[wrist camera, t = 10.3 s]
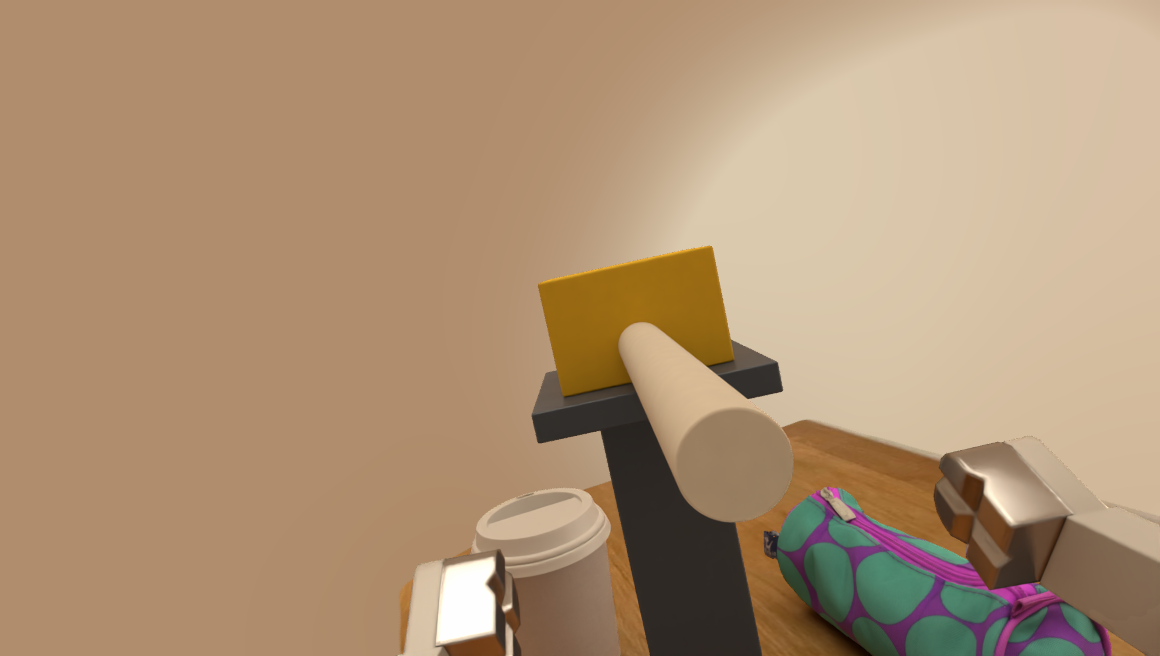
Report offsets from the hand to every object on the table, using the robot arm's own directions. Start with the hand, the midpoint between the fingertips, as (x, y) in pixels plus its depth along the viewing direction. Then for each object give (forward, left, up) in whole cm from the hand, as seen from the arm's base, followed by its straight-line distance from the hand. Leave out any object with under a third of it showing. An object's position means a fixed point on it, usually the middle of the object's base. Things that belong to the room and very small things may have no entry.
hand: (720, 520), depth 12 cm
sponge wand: (+7, 0, +1) cm, 7 cm away
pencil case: (+29, -15, -25) cm, 41 cm away
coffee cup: (+30, +8, -25) cm, 40 cm away
